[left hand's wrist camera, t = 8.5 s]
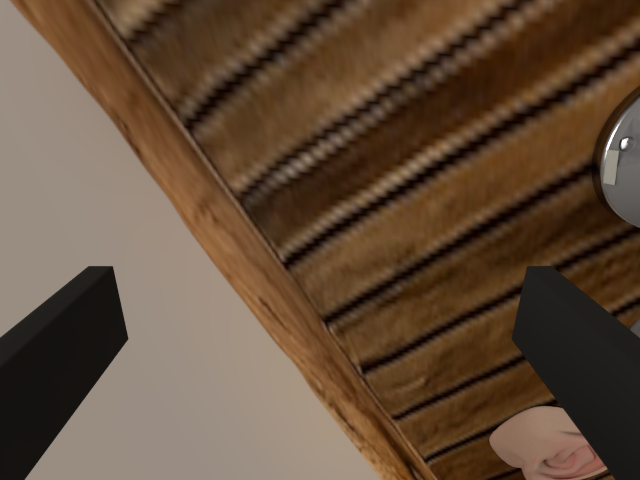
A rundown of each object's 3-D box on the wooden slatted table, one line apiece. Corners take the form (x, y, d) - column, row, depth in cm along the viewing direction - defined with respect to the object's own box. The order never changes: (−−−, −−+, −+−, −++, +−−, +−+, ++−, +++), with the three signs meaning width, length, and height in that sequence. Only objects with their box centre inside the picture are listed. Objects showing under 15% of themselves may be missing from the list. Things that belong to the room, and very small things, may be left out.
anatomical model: (487, 478, 49) (546, 414, 45) (475, 450, 53) (529, 389, 49) (572, 510, 52) (635, 452, 48) (555, 481, 55) (612, 425, 51)
